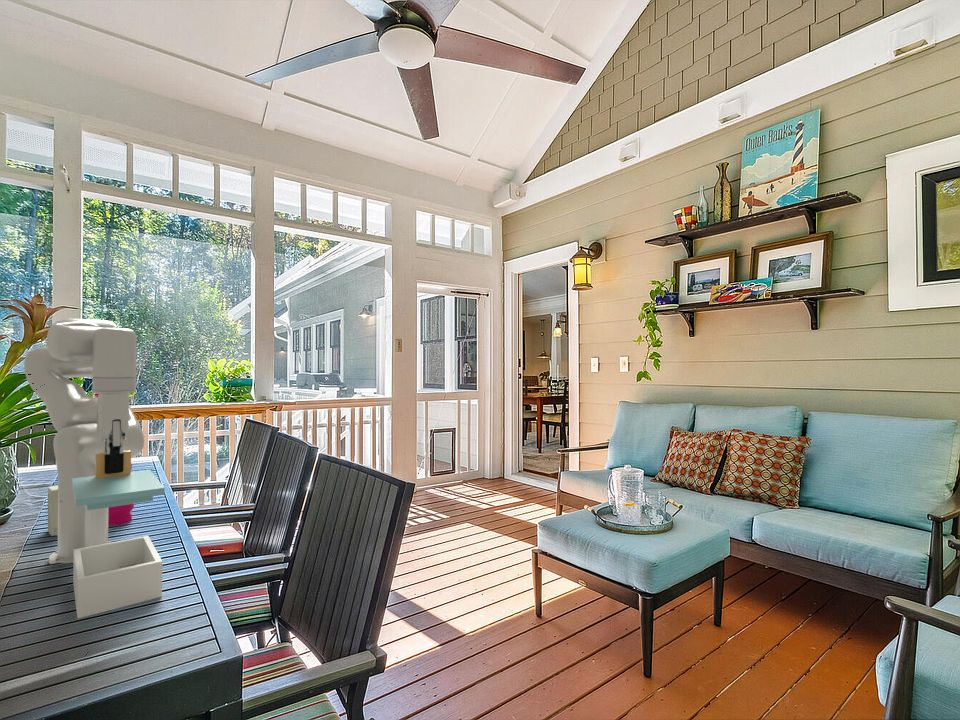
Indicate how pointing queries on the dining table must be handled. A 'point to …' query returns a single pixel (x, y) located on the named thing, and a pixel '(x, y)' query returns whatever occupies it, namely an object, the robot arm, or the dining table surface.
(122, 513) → the pepper mill
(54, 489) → the skincare box
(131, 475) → the lid
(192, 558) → the dining table surface
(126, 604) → the tub
